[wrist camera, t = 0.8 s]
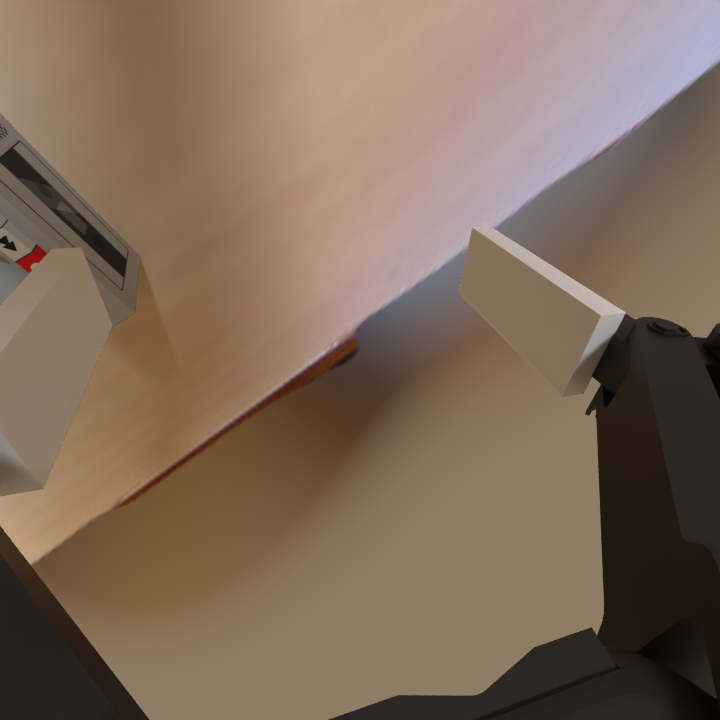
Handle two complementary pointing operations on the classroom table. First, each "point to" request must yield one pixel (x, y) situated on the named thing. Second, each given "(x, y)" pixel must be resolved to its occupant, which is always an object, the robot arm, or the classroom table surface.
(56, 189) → the cassette player
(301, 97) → the classroom table surface
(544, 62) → the classroom table surface
